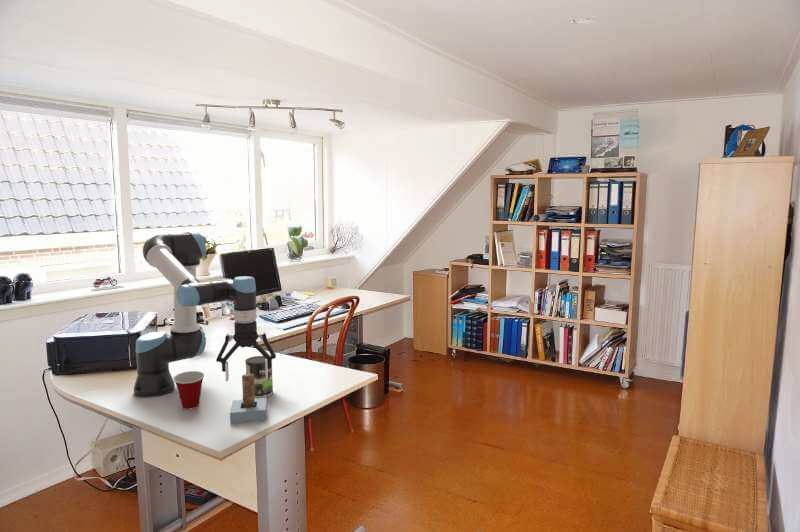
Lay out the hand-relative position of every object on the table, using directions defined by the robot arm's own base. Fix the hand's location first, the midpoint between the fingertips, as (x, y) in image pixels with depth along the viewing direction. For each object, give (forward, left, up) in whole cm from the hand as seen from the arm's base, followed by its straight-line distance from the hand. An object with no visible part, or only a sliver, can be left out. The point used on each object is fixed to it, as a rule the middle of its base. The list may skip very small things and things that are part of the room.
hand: (247, 378), depth 190 cm
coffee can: (+3, +22, -14) cm, 26 cm away
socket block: (0, 0, -14) cm, 14 cm away
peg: (0, 0, -14) cm, 14 cm away
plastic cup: (-22, +14, -14) cm, 29 cm away
